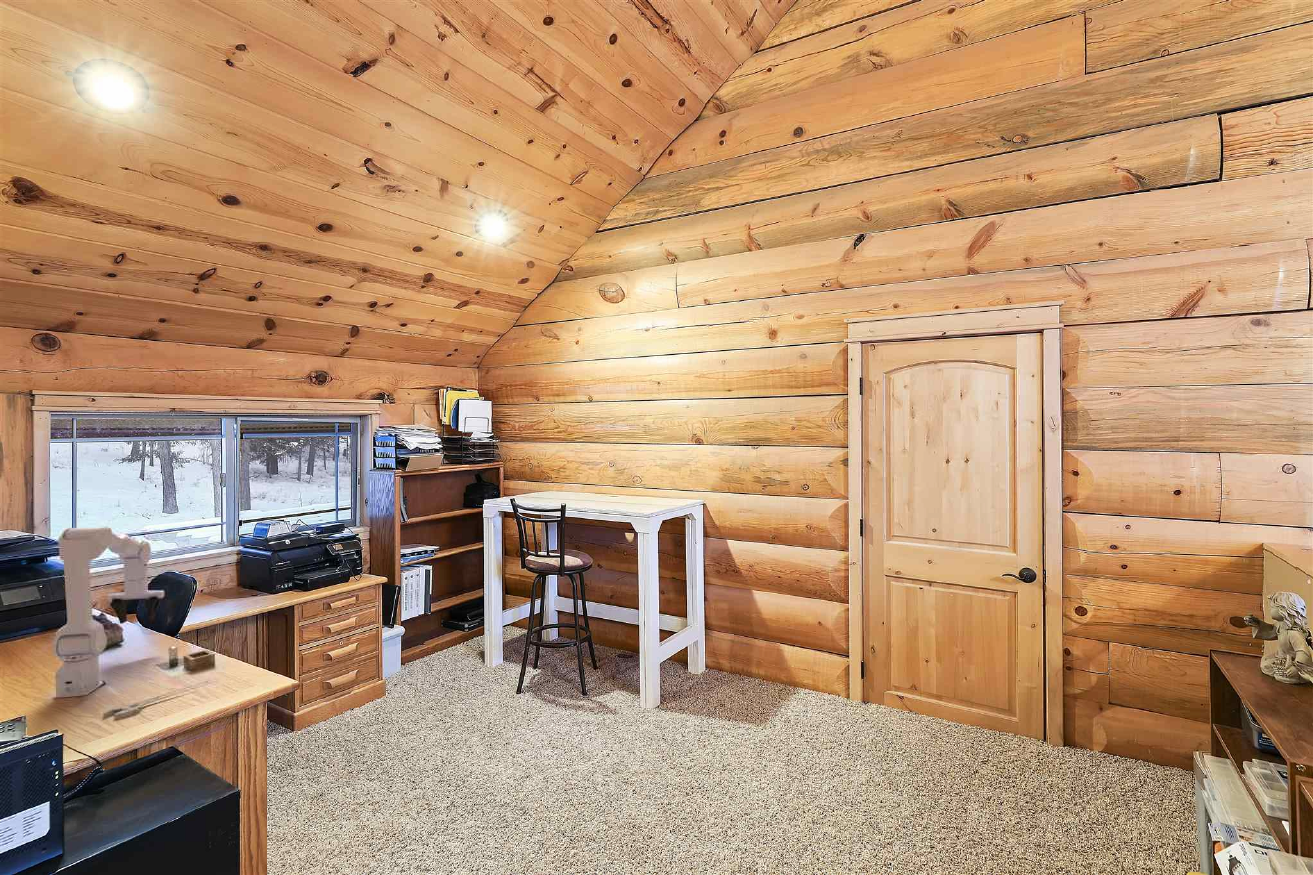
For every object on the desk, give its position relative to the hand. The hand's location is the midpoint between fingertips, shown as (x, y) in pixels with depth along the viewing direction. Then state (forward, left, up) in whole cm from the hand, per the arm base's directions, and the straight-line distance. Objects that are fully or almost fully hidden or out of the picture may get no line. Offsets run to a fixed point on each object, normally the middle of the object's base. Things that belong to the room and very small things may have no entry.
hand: (137, 621), depth 205 cm
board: (-18, -21, -10) cm, 29 cm away
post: (-16, -17, -10) cm, 25 cm away
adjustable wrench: (-42, -26, -11) cm, 50 cm away
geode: (+13, +18, -10) cm, 25 cm away
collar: (-20, -25, -9) cm, 33 cm away
